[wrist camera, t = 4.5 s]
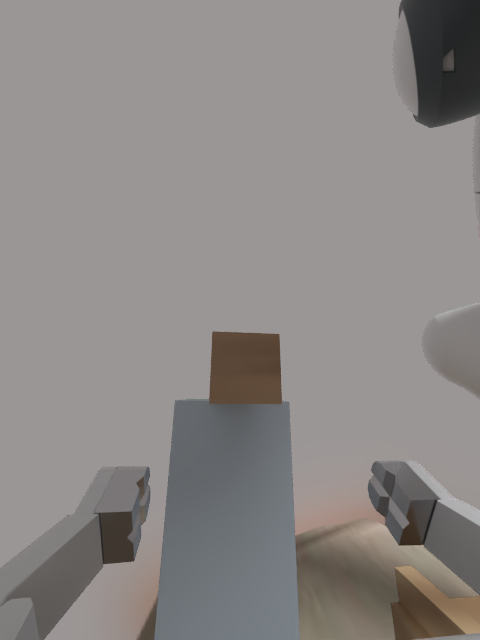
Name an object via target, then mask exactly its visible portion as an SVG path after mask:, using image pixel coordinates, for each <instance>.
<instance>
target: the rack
mask: <svg viewBox="0 0 480 640" xmlns="http://www.w3.org/2000/svg"><path fill="white" fill-rule="evenodd" d="M395 573H396V580H397V587H398V594H399V601H400V602H397V603H391V608H392V615H393V623H394V631H395V638H396V640H414V639H424V638H434V637H444V636H454V635H464V634H474V633H480V596H478V597H464V598H451V599H450V598H448V597H447V596H446V595H445V594H444V593H443V592H441V591H440V590H439V589H438V588H437V587H435V586H434V585H433V584H432V583H431V582H430V581H428V580H427V579H426V578H425V577H424V576H423V575H421V574H420V573H419V572H418V571H417V570H415V569H414V568H413V567H412V566H404V567H395Z"/></svg>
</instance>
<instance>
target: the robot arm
mask: <svg viewBox="0 0 480 640" xmlns="http://www.w3.org/2000/svg"><path fill="white" fill-rule="evenodd" d="M393 74H394V80H395V85H396V88H397V91H398V93H399V96H400V98H401V99H402V101H403V103H404V104H405V106H406V107H407V108H408V110H410V111H411V112H412V113H413V116H414V119H415V120H416V121H417V122H419V123H421V124H423V125H425V126H427V127H429V128H432V127H438V126H443V125H447V124H451V123H453V122H457V121H460V120H464V119H466V118H469V117H472V116H475V115H476V118H475V127H474V139H473V180H474V191H475V202H476V211H477V220H478V229H479V239H480V0H402V1H401V3H400V7H399V22H398V25H397V30H396V35H395V40H394V47H393ZM422 348H423V352H424V355H425V357H426V359H427V361H428V363H429V364H430V365H431V367H432V368H433V369H434V370H435V371H436V372H437V373H439V374H440V375H441V376H442V377H444V378H445V379H447V380H449V381H451V382H453V383H455V384H457V385H459V386H460V387H462V388H464V389H466V390H467V391H469V392H470V393H472V394H473V395H475V396H476V397H477V398H478V399H480V303H476V304H471V305H467V306H464V307H460V308H458V309H454V310H451V311H447V312H444V313H441V314H438V315H435V316H434V317H433V318H432V319H431V320H430V321H429V322H428V324H427V326H426V327H425V330H424V332H423V336H422ZM371 471H372V473H373V474H374V476H373V477H372V478H371V479H370V480H369V484H368V492H369V497H370V500H371V502H372V504H373V506H374V508H375V509H376V511H377V512H379V513H380V514H381V515H383V516H384V517H385V525H386V526H387V528H388V529H389V531H390V533H391V534H392V536H393V537H394V539H395V540H396V542H397V543H398V545H424V547H425V548H426V549H427V550H428V551H429V552H430V553H432V554H433V555H434V556H435V557H436V558H437V559H439V560H440V561H441V562H442V563H443V564H444V565H445V566H447V567H448V568H449V569H450V570H451V571H452V572H454V573H455V574H456V575H457V576H458V577H459V578H460V579H462V580H463V581H464V582H465V583H466V584H467V585H469V586H470V587H471V588H472V589H473V590H474V591H475V592H477V593H478V594H479V595H480V510H478V509H476V508H474V507H472V506H470V505H469V504H467V503H465V502H464V501H462V500H460V499H455V498H453V496H452V495H451V494H450V493H449V492H447V490H445V488H444V487H443V486H442V485H441V484H440V483H439V482H437V481H436V480H435V479H434V478H433V477H432V476H431V475H430V474H429V473H428V472H427V471H426V470H425V469H424V468H423V467H422V466H421V465H420V464H419V463H418V462H416V461H414V460H404V461H403V460H402V461H376V462H374V463H373V465H372V469H371ZM149 477H150V470H149V467H102V468H101V469H100V470H99V471H98V473H97V474H96V476H95V478H94V479H93V481H92V483H91V485H90V486H89V488H88V490H87V492H86V494H85V495H84V497H83V499H82V500H81V502H80V504H79V506H78V508H77V509H76V511H75V513H74V514H73V515H67V516H66V517H65V518H64V519H62V520H61V521H60V522H59V523H57V524H56V525H55V526H53V527H52V528H51V529H50V530H48V531H47V532H46V533H44V534H43V535H42V536H41V537H39V538H38V539H37V540H36V541H34V542H33V543H32V544H31V545H29V546H28V547H27V548H25V549H24V550H23V551H22V552H20V553H19V554H18V555H17V556H15V557H14V558H13V559H11V560H10V561H9V562H8V563H6V564H5V565H4V566H3V567H1V568H0V640H44V639H45V638H46V636H47V635H48V634H49V633H50V631H51V630H52V629H53V628H54V626H55V625H56V624H57V623H58V622H59V620H60V619H61V618H62V617H63V615H64V614H65V613H66V612H67V610H68V609H69V608H70V607H71V605H72V604H73V603H74V602H75V601H76V599H77V598H78V597H79V596H80V594H81V593H82V592H83V591H84V589H85V588H86V587H87V585H89V583H90V582H91V581H92V580H93V578H94V577H95V576H96V574H97V573H98V572H99V571H100V570H101V569H102V567H103V564H108V563H109V564H110V563H121V562H131V561H134V560H135V556H136V553H137V549H138V546H139V542H140V539H141V525H142V524H143V523H144V522H145V521H146V517H147V513H148V508H149V502H150V486H149V485H148V480H149ZM414 640H480V633H474V634H464V635H454V636H444V637H434V638H424V639H414Z"/></svg>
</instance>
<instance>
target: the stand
mask: <svg viewBox="0 0 480 640" xmlns="http://www.w3.org/2000/svg"><path fill="white" fill-rule="evenodd" d="M165 511H166V512H165V522H164V534H163V545H162V557H161V568H160V580H159V591H158V603H157V614H156V626H155V637H154V640H300V633H299V610H298V588H297V566H296V544H295V521H294V500H293V478H292V457H291V432H290V411H289V402H284V401H282V404H209V399H186V400H176V401H175V407H174V418H173V430H172V441H171V453H170V464H169V476H168V488H167V500H166V510H165Z"/></svg>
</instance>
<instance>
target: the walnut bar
mask: <svg viewBox="0 0 480 640" xmlns="http://www.w3.org/2000/svg"><path fill="white" fill-rule="evenodd" d="M211 356H212V357H211V376H210V397H209V404H282V394H281V367H280V340H279V334H261V333H236V332H235V333H234V332H213V335H212V355H211Z"/></svg>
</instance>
